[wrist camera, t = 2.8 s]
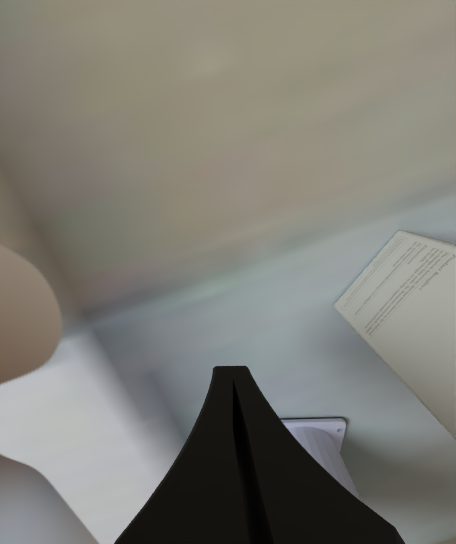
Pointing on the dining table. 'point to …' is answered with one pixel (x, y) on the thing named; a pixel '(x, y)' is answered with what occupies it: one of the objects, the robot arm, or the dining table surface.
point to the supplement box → (411, 317)
